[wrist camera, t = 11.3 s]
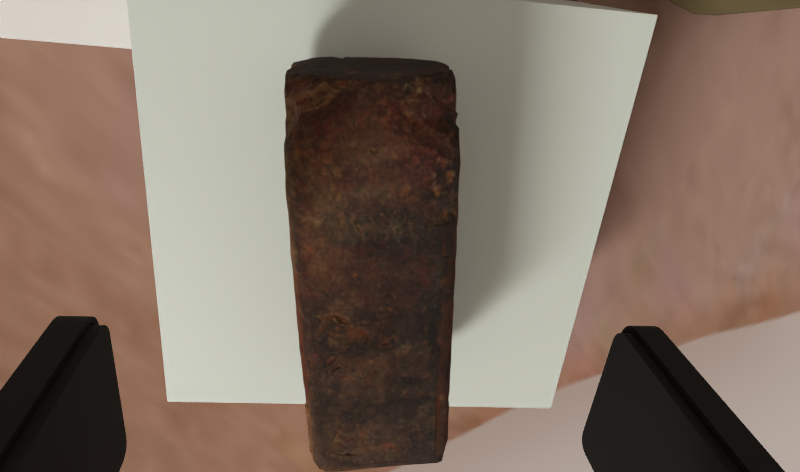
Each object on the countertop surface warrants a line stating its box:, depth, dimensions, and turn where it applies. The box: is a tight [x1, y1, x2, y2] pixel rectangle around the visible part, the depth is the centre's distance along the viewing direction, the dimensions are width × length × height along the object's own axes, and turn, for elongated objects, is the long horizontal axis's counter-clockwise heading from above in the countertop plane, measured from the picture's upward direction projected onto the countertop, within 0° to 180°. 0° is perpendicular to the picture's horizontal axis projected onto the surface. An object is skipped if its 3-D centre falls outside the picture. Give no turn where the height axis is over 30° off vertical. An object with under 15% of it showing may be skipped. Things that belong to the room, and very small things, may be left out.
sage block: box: [127, 0, 658, 408], centre depth 20 cm, size 14×14×6 cm
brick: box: [284, 57, 461, 472], centre depth 16 cm, size 11×4×5 cm, turn 0°
